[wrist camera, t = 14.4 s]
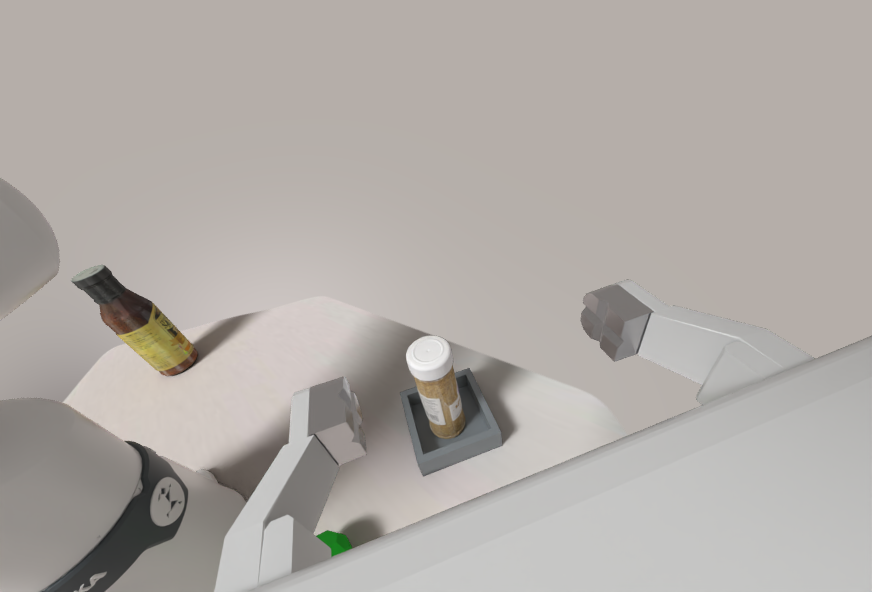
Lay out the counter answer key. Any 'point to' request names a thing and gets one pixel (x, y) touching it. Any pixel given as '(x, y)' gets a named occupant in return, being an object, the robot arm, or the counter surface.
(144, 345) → the sauce bottle
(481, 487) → the counter surface
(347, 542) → the polyhedron
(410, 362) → the sprinkles bottle
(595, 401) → the counter surface
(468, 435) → the bin
